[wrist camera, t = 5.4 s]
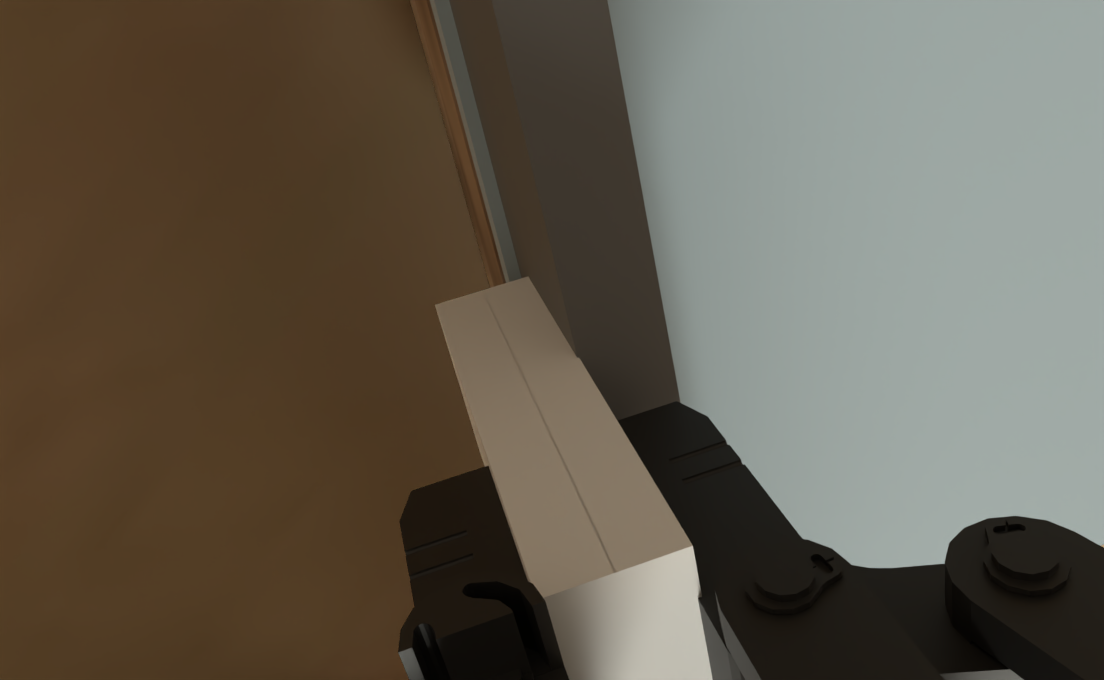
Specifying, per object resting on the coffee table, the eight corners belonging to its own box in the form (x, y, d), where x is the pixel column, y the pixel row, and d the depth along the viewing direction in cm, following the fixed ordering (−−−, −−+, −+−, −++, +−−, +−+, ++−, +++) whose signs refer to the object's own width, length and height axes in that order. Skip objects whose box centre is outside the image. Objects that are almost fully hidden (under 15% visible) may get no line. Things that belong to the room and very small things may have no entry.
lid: (329, -372, 11) (350, -486, 8) (1556, -644, 14) (2026, -835, 10) (619, 701, 21) (690, 878, 17) (1318, 441, 23) (1514, 549, 19)
